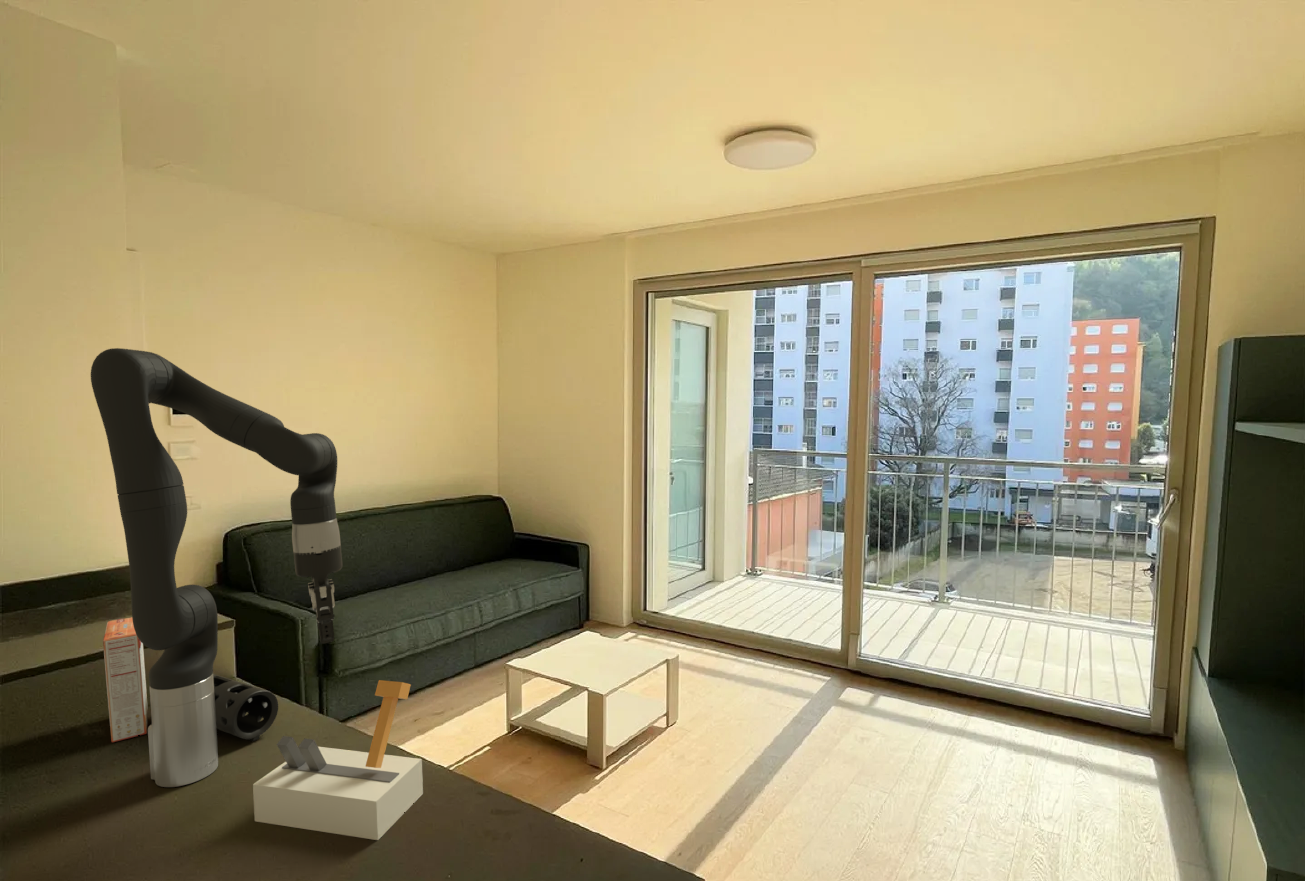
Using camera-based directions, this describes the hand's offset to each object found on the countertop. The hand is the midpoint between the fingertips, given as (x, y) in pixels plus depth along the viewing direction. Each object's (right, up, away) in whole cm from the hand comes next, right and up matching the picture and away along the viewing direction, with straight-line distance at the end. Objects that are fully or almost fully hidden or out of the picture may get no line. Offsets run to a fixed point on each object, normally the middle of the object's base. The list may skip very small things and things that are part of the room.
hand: (325, 635), depth 119 cm
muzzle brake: (-31, -24, +17) cm, 42 cm away
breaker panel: (+8, -25, -11) cm, 28 cm away
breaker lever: (+14, -18, -13) cm, 26 cm away
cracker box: (-49, -24, +17) cm, 57 cm away
